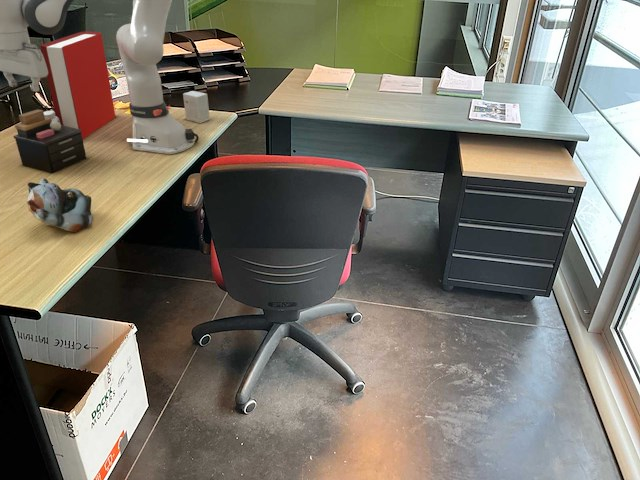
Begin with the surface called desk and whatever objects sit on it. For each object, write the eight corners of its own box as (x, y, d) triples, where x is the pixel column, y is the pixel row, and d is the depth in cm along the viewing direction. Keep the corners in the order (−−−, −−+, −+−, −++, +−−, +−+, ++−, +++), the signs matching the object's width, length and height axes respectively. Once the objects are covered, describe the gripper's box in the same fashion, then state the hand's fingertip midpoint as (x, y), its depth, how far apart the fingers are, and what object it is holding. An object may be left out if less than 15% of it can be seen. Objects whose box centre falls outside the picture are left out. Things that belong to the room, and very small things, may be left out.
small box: (210, 119, 216) (207, 93, 211) (200, 123, 212) (197, 96, 207) (195, 116, 220) (192, 90, 214) (185, 119, 216) (182, 93, 210)
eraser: (49, 133, 170) (48, 128, 169) (54, 134, 169) (53, 130, 168) (37, 137, 166) (35, 133, 165) (41, 138, 165) (40, 134, 165)
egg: (64, 130, 173) (62, 120, 171) (56, 133, 170) (53, 123, 168) (57, 128, 174) (54, 118, 172) (48, 131, 171) (46, 121, 170)
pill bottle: (68, 136, 194) (59, 110, 188) (56, 142, 190) (47, 116, 185) (58, 133, 196) (49, 108, 190) (46, 139, 193) (36, 114, 187)
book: (81, 139, 194) (62, 46, 177) (61, 137, 194) (40, 45, 178) (117, 116, 217) (103, 32, 200) (98, 114, 218) (82, 31, 201)
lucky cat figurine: (92, 232, 137) (54, 197, 126) (51, 249, 138) (10, 216, 128) (97, 193, 147) (62, 157, 136) (59, 209, 148) (21, 175, 138)
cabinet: (88, 159, 178) (82, 129, 173) (53, 174, 167) (45, 143, 162) (58, 151, 183) (51, 122, 178) (21, 165, 172) (13, 135, 167)
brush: (53, 127, 174) (49, 109, 171) (27, 137, 166) (22, 118, 163) (43, 125, 176) (39, 107, 173) (17, 134, 168) (12, 115, 165)
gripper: (47, 43, 156) (57, 91, 163) (-1, 35, 163) (10, 81, 170) (29, 47, 151) (40, 96, 158) (-21, 38, 158) (-8, 86, 165)
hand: (24, 88), depth 164 cm, fingers open, 8 cm apart
